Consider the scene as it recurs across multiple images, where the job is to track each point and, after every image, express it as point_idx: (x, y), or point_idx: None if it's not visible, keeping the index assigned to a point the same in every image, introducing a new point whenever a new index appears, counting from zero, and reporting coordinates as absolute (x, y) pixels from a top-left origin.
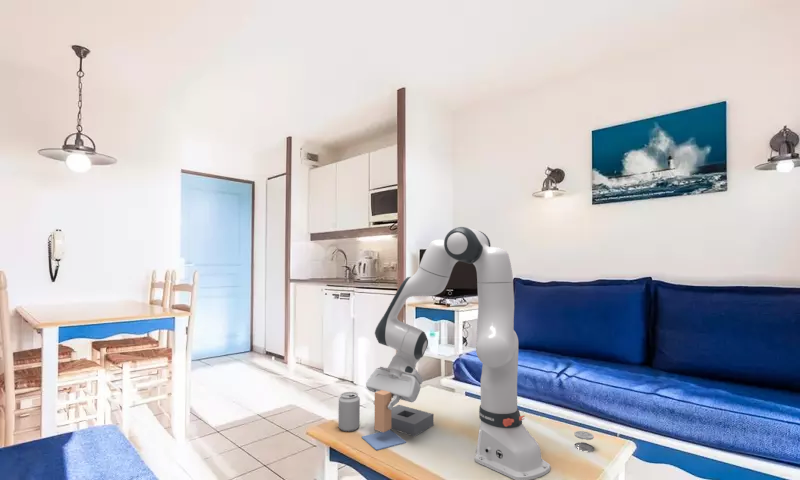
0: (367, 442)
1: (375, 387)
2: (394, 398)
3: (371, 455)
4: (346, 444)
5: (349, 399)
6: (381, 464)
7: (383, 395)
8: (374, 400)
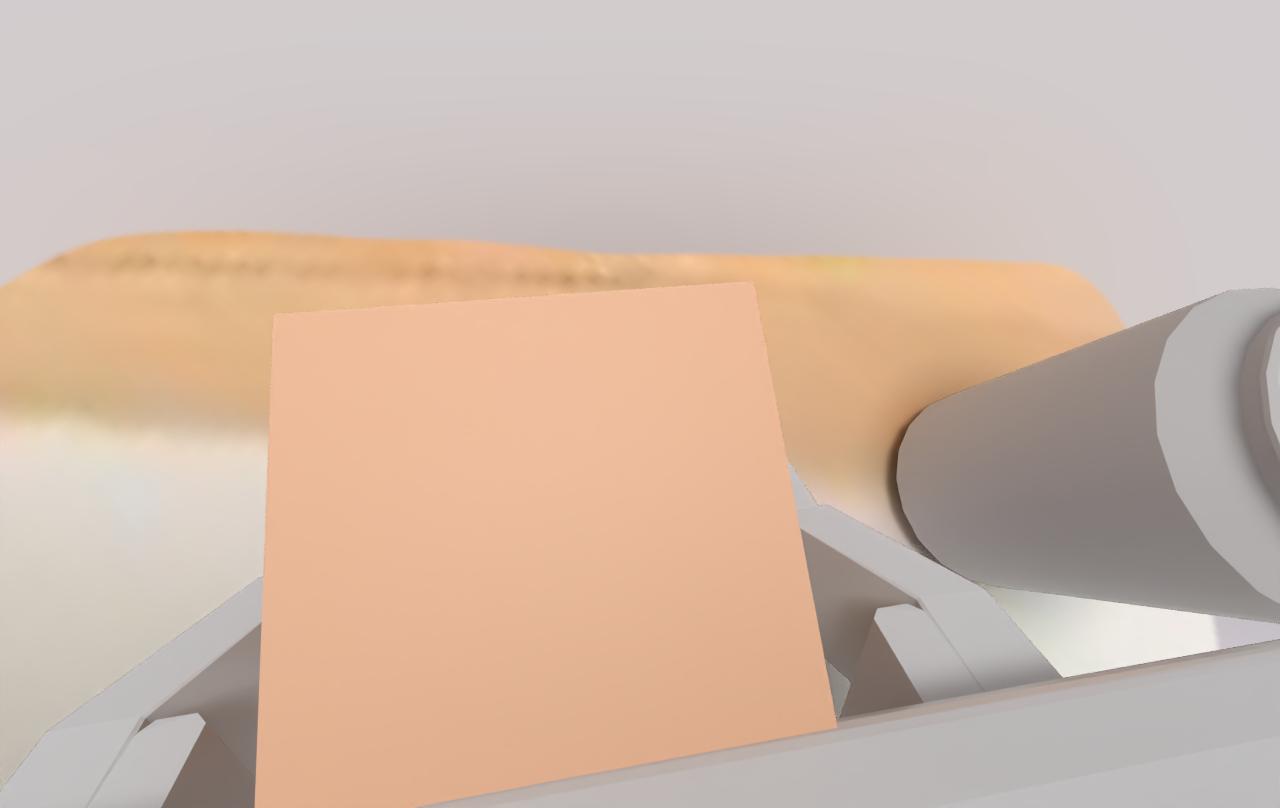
0: None
1: (1219, 693)
2: (117, 714)
3: (452, 283)
4: (728, 281)
5: (1233, 350)
6: (293, 239)
7: (311, 322)
8: (789, 468)
